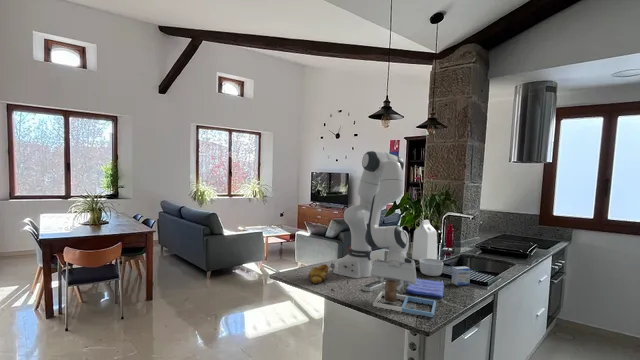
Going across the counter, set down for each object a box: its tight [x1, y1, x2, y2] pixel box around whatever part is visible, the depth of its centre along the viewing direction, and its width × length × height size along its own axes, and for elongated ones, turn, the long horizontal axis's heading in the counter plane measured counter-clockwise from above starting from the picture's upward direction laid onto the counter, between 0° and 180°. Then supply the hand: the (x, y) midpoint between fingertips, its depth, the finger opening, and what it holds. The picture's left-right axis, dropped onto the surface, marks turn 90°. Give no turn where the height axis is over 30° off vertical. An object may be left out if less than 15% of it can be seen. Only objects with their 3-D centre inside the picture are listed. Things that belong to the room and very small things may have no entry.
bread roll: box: [308, 264, 329, 284], centre depth 177 cm, size 13×10×8 cm
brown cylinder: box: [384, 280, 398, 303], centre depth 149 cm, size 5×5×8 cm
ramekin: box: [418, 258, 444, 277], centre depth 194 cm, size 13×13×7 cm
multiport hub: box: [362, 279, 386, 292], centre depth 169 cm, size 4×14×2 cm, turn 135°
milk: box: [411, 219, 438, 261], centre depth 224 cm, size 12×12×26 cm
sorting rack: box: [372, 291, 437, 318], centre depth 146 cm, size 24×15×2 cm, turn 66°
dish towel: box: [404, 277, 445, 300], centre depth 169 cm, size 17×24×3 cm
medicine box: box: [451, 265, 471, 286], centre depth 177 cm, size 8×4×9 cm, turn 105°
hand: (390, 289), depth 148 cm, fingers closed on brown cylinder, 5 cm apart
